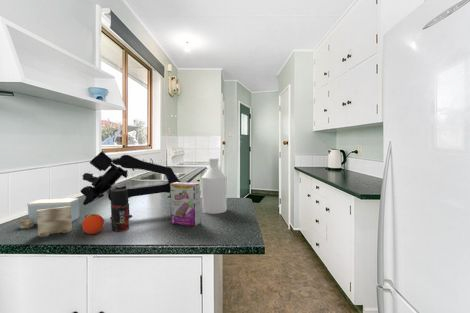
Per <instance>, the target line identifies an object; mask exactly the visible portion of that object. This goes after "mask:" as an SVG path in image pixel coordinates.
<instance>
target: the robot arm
mask: <svg viewBox="0 0 470 313" xmlns="http://www.w3.org/2000/svg"><path fill="white" fill-rule="evenodd" d="M89 164H90V165H92V166H93V167H94V168H96V169H97V171H98V170H99V172H102V171H103V172H104V174H103V175H102V174H101V175H100V174H98V173H95V172H93V171H85V172H84V174H83V175H81V176H82V180H83V181H87V182H88V183H91V184H90V185H88V186H84V187H83V188H82V189H81V190H80V193H81V194H82V195H83V196H85V199H84V200H83V202H82V205H83V206H86V205H89V204H91V203H92V202H94V201H97V200H99V199H100V198H102V197H104V196H105V195H104V194H107V198H108V200H109V201H110V202H111V194H110V190H113V189H122V188H124V189H128V213H129V218H131V217H133V214H130V203H129V199H130V198H132V197H139V196H146V195H153V194H161V193H169V194H170V184H171V183H174V182H182V181H181V180H180V179H179V178H178V176H177V175H176V173H175V171H174V170H173V168H172V167H170V166H164V165H160V164H157V163H154V162H153V163H152V162H148V161H145V160H141V159H139V158H136V157H133V156H132V155H130V154H123V155H120V157H117V158H113V159H112V158H111V157H109V156H108V155H107V154H106V153H105V152H104V151H103V150H102V151H100V152H99V153H98V154H97V155H96V156H94V157H93V159H91V160H90V162H89ZM109 167H110V168H109ZM127 169H129V170H131V169H135V170H144V171H148V172H153V173H156V174H160V175H164V176H165V178H166V180H167V181H165V182H163V183H157V184H150V185H140V186H133V187H127V185H126V183H124V184H120V185H119V184H116V182H118V180H119V179H120V178H121V177H123V178H125V179H126V178H128V174H129V173H128V171H129V170H127ZM114 185H115V186H114ZM110 219H111V216H110Z"/></svg>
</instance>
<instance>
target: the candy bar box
mask: <svg viewBox="0 0 470 313" xmlns="http://www.w3.org/2000/svg"><path fill="white" fill-rule="evenodd" d="M169 195H170V196H169V197H170V199H169V200H170V202H169V203H170V224H172V225H180V226H188V227H196V226H198V225H199V224H201V184H200V183H198V182H185V181H184V182H183V181H181V182H174V183H171V184H170V193H169Z"/></svg>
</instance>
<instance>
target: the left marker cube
mask: <svg viewBox="0 0 470 313" xmlns="http://www.w3.org/2000/svg"><path fill="white" fill-rule="evenodd" d="M34 226H35V224H34V218H29V217H28V218H27V217H26V218H23V219H21V220H19V228H20V229H30V228H31V227H34Z"/></svg>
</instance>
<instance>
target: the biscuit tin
mask: <svg viewBox="0 0 470 313" xmlns="http://www.w3.org/2000/svg"><path fill="white" fill-rule="evenodd" d="M79 201H80V198H77V197H76V198H74V197H73V198H52V199H51V198H47V199H46V198H45V199H44V198H43V199H37V200H35V201H31V202H28V203H27V209H28V210H27V212H28V213H27V215H28V216H27V217H28V218H34V225H38V222H37V210H42V209H50V208H58V207H66V206H71V221H72V222H74V221H76V220H77V219H79V218H80V204H79V203H80V202H79Z"/></svg>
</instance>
